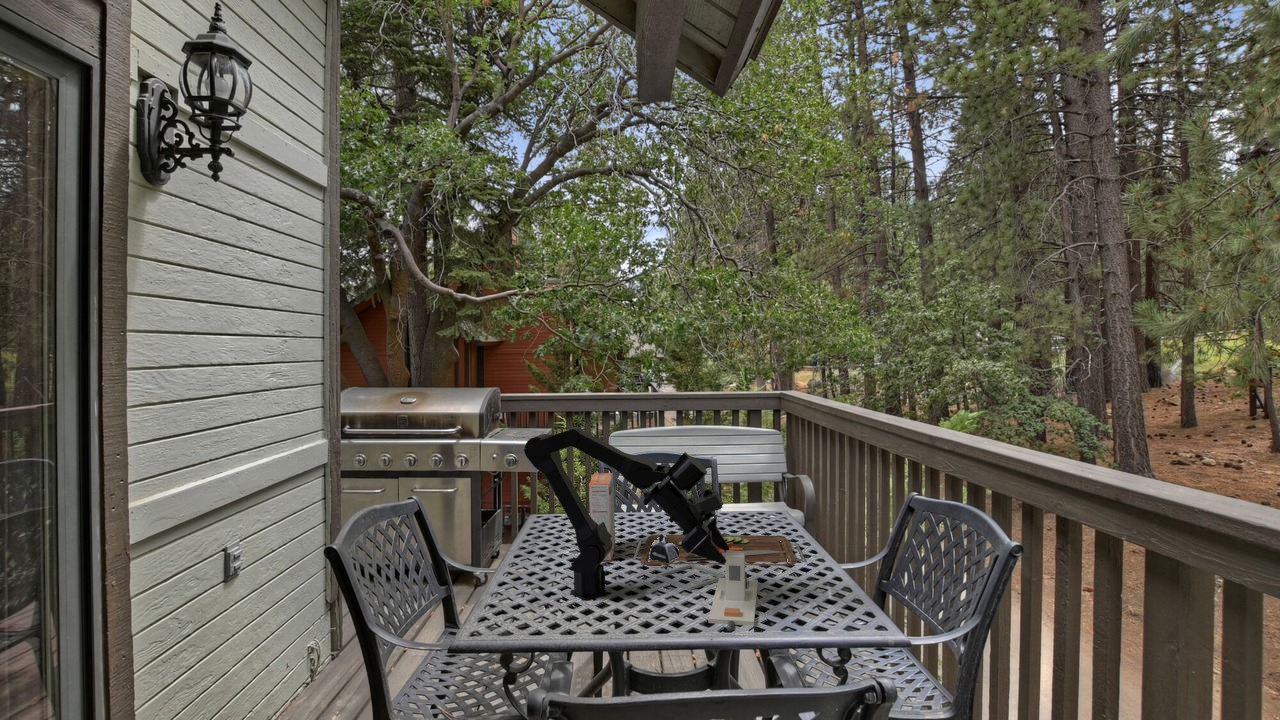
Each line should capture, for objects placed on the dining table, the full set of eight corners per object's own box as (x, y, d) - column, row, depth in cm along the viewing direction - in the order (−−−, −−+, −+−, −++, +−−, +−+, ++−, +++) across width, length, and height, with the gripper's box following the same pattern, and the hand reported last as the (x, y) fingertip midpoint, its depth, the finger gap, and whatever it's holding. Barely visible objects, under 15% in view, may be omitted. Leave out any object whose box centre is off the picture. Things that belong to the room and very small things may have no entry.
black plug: (746, 591, 152) (745, 573, 152) (728, 590, 153) (728, 572, 153) (746, 585, 156) (746, 567, 156) (729, 584, 157) (729, 567, 157)
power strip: (753, 636, 131) (753, 623, 131) (707, 632, 133) (706, 620, 132) (757, 586, 157) (757, 576, 157) (719, 584, 159) (719, 574, 159)
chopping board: (795, 540, 195) (794, 529, 195) (809, 571, 169) (808, 559, 169) (640, 538, 200) (640, 528, 200) (630, 568, 173) (630, 556, 173)
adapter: (725, 602, 146) (725, 556, 146) (727, 594, 150) (726, 550, 150) (744, 603, 145) (743, 557, 145) (745, 595, 150) (744, 551, 149)
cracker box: (594, 546, 191) (593, 472, 191) (615, 545, 191) (614, 472, 191) (589, 561, 177) (587, 483, 177) (612, 561, 177) (610, 482, 177)
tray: (689, 593, 153) (689, 587, 153) (655, 580, 163) (655, 574, 163) (726, 581, 161) (725, 575, 161) (691, 569, 170) (691, 563, 170)
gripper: (695, 488, 140) (750, 543, 137) (705, 472, 158) (754, 520, 156) (659, 525, 141) (713, 580, 139) (672, 504, 160) (720, 552, 158)
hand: (726, 556), depth 148 cm, fingers open, 9 cm apart
